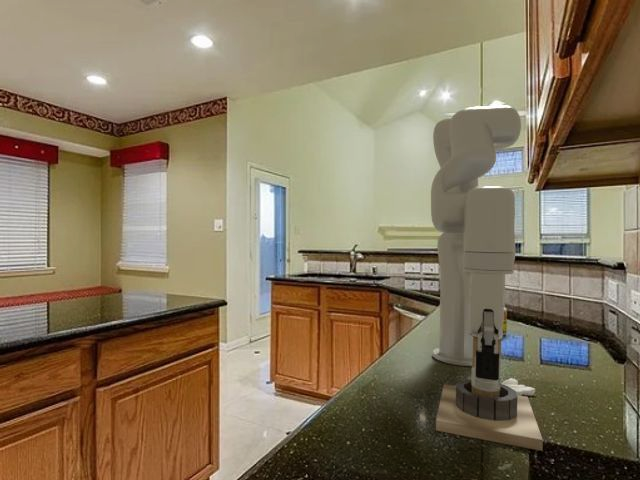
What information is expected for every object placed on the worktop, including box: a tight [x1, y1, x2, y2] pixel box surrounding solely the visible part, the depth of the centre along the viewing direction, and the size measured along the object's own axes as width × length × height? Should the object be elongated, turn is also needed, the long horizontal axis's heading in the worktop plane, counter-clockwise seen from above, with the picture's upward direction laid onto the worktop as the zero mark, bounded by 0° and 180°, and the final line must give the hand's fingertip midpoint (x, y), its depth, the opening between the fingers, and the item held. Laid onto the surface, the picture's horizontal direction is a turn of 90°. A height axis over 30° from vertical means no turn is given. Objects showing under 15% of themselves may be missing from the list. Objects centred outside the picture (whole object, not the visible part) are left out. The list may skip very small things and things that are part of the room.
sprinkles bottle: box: [470, 329, 504, 398], centre depth 63 cm, size 5×4×13 cm
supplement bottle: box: [503, 306, 508, 336], centre depth 122 cm, size 6×6×10 cm
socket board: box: [435, 378, 544, 452], centre depth 63 cm, size 16×14×4 cm
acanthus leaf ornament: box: [501, 377, 536, 396], centre depth 75 cm, size 8×7×2 cm
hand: (486, 368), depth 63 cm, fingers open, 9 cm apart
